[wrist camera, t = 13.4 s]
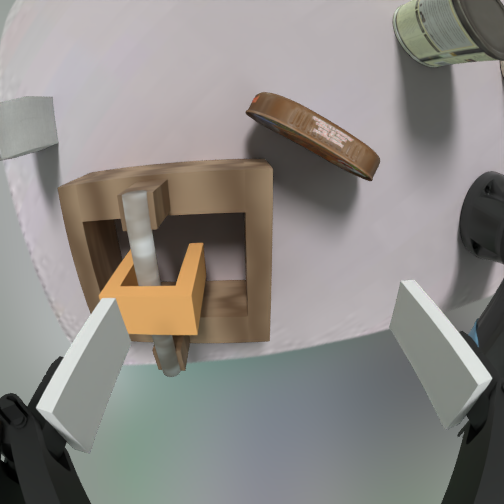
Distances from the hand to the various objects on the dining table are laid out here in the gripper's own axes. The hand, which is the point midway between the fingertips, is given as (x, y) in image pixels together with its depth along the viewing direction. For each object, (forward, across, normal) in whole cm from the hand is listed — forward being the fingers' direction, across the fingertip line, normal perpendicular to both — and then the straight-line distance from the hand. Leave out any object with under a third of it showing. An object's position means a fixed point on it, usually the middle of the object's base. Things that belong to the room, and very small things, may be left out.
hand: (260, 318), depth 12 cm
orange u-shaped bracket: (+18, +9, +6) cm, 21 cm away
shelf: (+23, +10, +6) cm, 26 cm away
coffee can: (+24, -25, -23) cm, 42 cm away
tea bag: (+23, +27, -13) cm, 38 cm away
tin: (+24, -7, -7) cm, 26 cm away
